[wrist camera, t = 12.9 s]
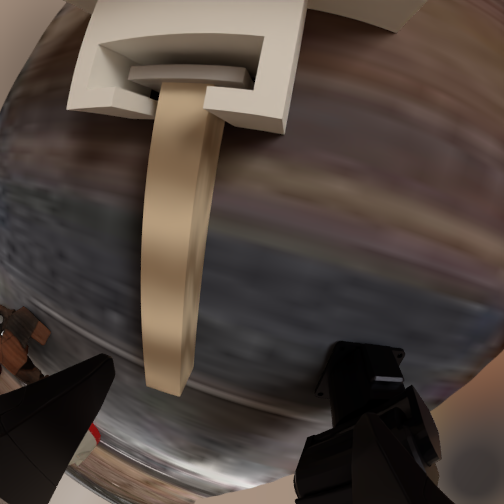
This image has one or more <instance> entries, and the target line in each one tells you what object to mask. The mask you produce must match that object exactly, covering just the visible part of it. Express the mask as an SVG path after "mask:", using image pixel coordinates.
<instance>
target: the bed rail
mask: <svg viewBox="0 0 504 504" xmlns="http://www.w3.org/2000/svg"><path fill="white" fill-rule="evenodd" d="M128 80H130V81H133V82H135V83H138V84H140V85H142V86H145V87H147V88H150V89H152V90H154V91H157V92H159V93H160V95H159V100H158V105H157V110H156V116H155V121H154V127H153V133H152V140H151V147H150V154H149V162H148V170H147V179H146V189H145V199H144V212H143V227H142V249H141V317H142V339H143V354H144V366H145V377H146V386H148V387H151V388H154V389H157V390H160V391H163V392H166V393H169V394H172V395H175V396H178V397H180V396H181V394H182V391H183V389H184V387H185V385H186V382H187V380H188V378H189V376H190V373H191V371H192V369H193V366H194V352H195V340H196V329H197V318H198V307H199V298H200V288H201V279H202V270H203V262H204V254H205V246H206V238H207V230H208V223H209V216H210V209H211V202H212V195H213V189H214V182H215V176H216V170H217V164H218V158H219V152H220V146H221V140H222V135H223V129H224V124H225V121H224V120H223V119H221V118H219V117H217V116H216V115H214V114H212V113H210V112H208V111H207V110H205V109H203V105H204V100H205V95H206V90H207V86H214V87H226V88H236V89H245V90H254V83H253V81H252V79H251V77H250V75H249V73H248V71H247V69H246V68H243V67H232V66H218V65H192V64H171V65H146V66H132V67H131V68H130V72H129V76H128Z"/></svg>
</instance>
